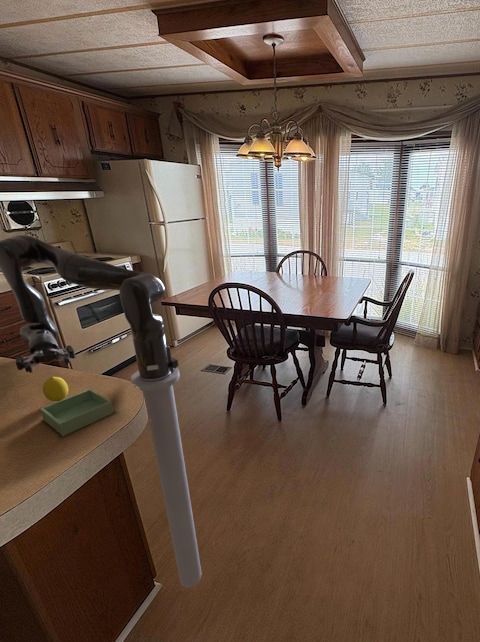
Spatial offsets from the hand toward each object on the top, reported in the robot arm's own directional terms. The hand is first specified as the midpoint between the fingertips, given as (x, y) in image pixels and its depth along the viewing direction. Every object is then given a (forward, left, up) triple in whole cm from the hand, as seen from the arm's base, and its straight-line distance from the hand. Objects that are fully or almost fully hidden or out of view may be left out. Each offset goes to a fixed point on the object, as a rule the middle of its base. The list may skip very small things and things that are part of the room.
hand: (48, 365), depth 101 cm
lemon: (+3, +10, -7) cm, 13 cm away
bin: (+3, +22, -7) cm, 23 cm away
